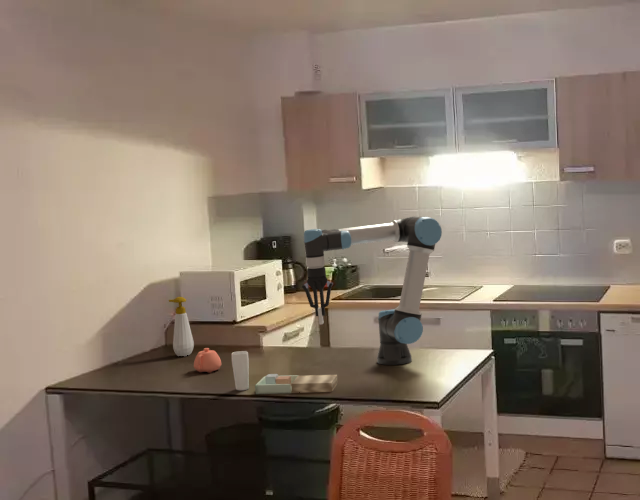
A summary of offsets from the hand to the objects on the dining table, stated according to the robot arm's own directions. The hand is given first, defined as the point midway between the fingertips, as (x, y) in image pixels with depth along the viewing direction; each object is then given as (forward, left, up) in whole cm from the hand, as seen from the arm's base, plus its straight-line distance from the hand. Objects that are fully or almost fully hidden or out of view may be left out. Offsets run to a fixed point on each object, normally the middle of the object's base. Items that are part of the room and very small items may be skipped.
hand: (321, 323), depth 382 cm
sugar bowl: (+57, -20, -23) cm, 65 cm away
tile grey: (+16, +16, -20) cm, 31 cm away
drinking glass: (+31, +16, -23) cm, 42 cm away
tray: (+16, +16, -23) cm, 33 cm away
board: (+1, +16, -23) cm, 28 cm away
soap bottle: (+81, -57, -23) cm, 102 cm away
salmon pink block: (+14, +16, -22) cm, 31 cm away
